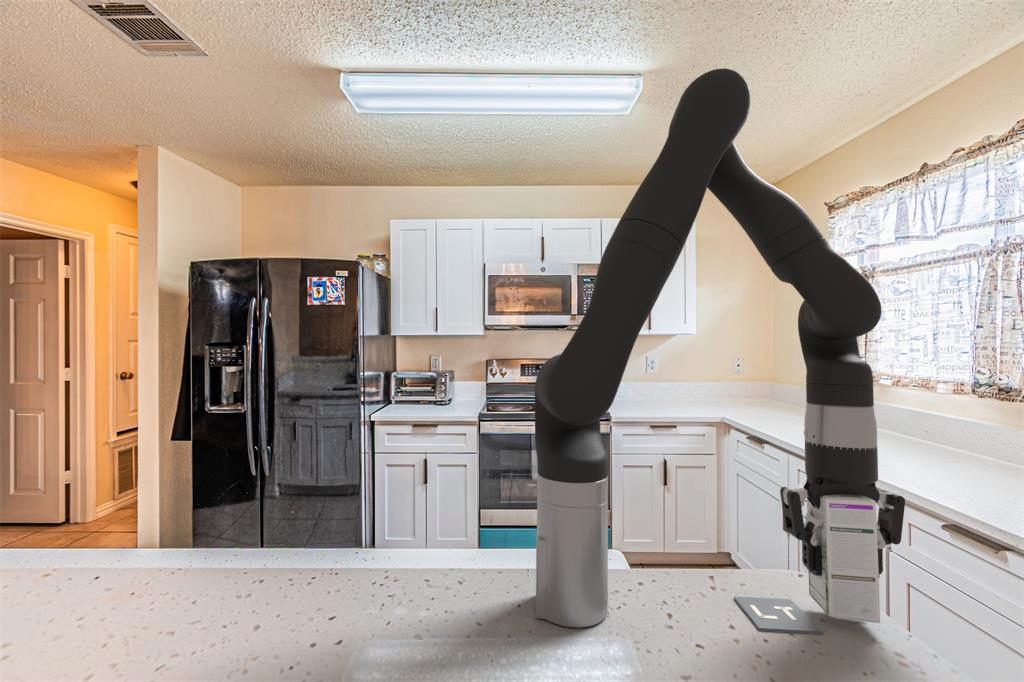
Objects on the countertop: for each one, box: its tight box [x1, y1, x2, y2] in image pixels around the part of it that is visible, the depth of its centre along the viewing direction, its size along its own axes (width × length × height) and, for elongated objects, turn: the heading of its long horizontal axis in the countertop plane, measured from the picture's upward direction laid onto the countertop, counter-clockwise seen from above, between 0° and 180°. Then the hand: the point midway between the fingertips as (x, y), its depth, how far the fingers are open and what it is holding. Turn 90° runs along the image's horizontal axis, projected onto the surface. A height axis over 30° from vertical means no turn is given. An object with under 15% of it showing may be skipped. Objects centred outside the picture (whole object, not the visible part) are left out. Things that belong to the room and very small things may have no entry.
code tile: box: [733, 595, 825, 635], centre depth 58 cm, size 7×7×1 cm
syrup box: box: [806, 494, 881, 624], centre depth 57 cm, size 6×6×14 cm
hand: (842, 574), depth 57 cm, fingers closed on syrup box, 6 cm apart
